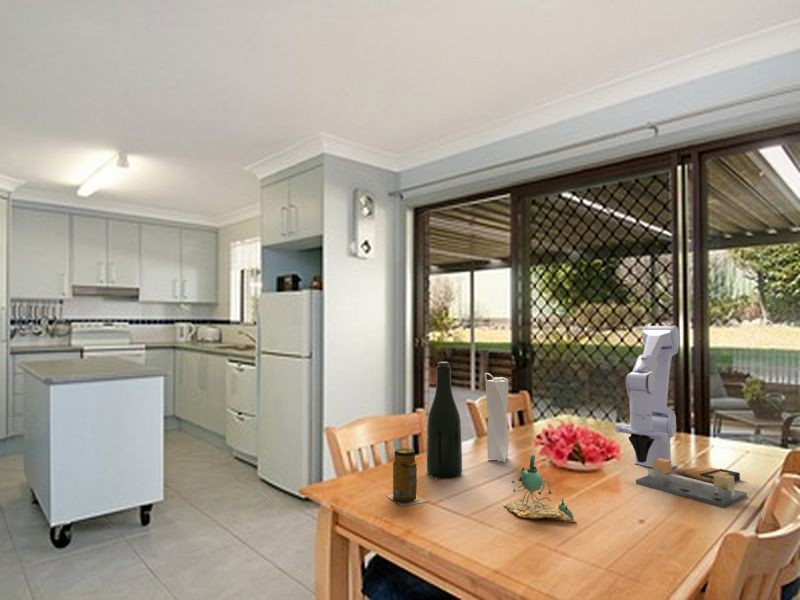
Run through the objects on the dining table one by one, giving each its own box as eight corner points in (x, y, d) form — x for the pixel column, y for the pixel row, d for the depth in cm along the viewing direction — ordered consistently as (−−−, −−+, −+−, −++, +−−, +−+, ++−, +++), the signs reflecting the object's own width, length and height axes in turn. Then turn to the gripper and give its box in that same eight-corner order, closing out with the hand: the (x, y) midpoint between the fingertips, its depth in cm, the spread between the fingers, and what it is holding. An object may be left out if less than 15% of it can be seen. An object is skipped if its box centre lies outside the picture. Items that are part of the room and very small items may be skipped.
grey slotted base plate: (635, 483, 136) (635, 461, 136) (660, 474, 143) (659, 454, 144) (724, 507, 118) (723, 483, 118) (746, 496, 125) (746, 473, 126)
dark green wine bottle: (450, 466, 152) (449, 359, 153) (469, 476, 143) (468, 362, 144) (420, 471, 147) (419, 361, 149) (437, 481, 138) (436, 363, 139)
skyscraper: (482, 460, 158) (481, 373, 160) (487, 455, 165) (486, 371, 166) (507, 463, 155) (506, 374, 156) (511, 457, 162) (510, 372, 163)
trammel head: (647, 477, 135) (646, 462, 135) (660, 472, 139) (659, 458, 139) (658, 480, 132) (658, 464, 133) (671, 475, 136) (671, 460, 136)
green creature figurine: (562, 533, 104) (553, 462, 106) (493, 518, 117) (486, 455, 119) (583, 520, 111) (574, 453, 113) (515, 507, 124) (509, 447, 126)
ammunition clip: (717, 478, 134) (675, 468, 144) (717, 485, 133) (675, 474, 144) (739, 472, 138) (697, 463, 149) (740, 479, 138) (697, 469, 149)
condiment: (411, 491, 130) (410, 446, 131) (426, 502, 123) (426, 453, 123) (385, 496, 127) (385, 449, 128) (400, 507, 119) (399, 457, 120)
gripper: (609, 411, 146) (610, 458, 145) (658, 419, 134) (659, 470, 133) (623, 409, 150) (624, 454, 149) (671, 416, 138) (673, 465, 137)
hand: (641, 461), depth 141 cm, fingers closed
